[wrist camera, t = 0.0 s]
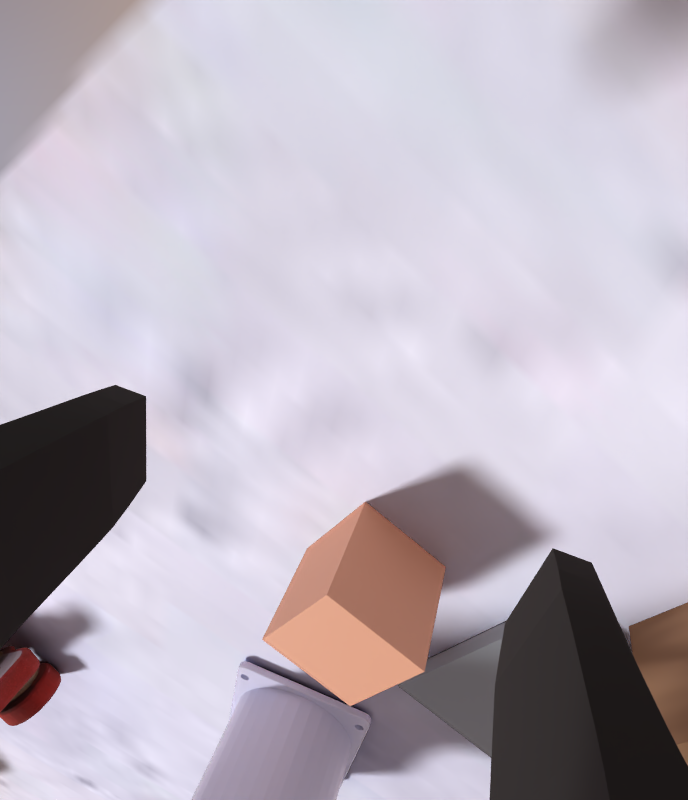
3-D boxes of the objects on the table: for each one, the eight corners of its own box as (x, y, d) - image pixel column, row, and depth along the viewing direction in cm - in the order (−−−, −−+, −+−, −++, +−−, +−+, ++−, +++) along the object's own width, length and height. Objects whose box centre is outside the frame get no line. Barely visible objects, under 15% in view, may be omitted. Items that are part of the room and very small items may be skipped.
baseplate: (544, 782, 29) (544, 798, 29) (401, 671, 28) (398, 686, 27) (728, 736, 24) (733, 756, 23) (558, 595, 22) (559, 612, 22)
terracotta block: (381, 605, 26) (350, 706, 22) (307, 547, 26) (261, 639, 22) (446, 566, 24) (424, 671, 20) (365, 500, 23) (326, 595, 19)
